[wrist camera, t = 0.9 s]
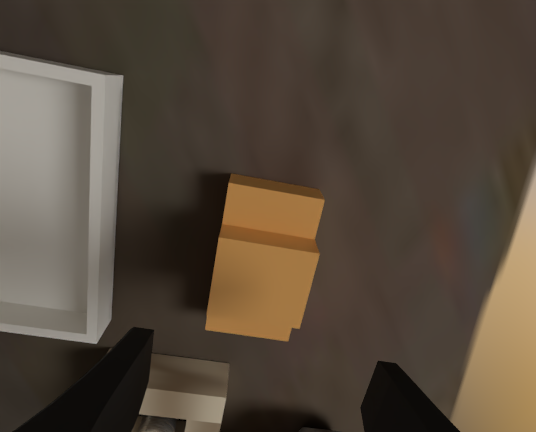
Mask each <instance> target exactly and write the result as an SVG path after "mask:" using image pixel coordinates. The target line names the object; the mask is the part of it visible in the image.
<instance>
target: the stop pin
mask: <svg viewBox="0 0 536 432" xmlns="http://www.w3.org/2000/svg"><path fill="white" fill-rule="evenodd" d="M176 423H177V419H176V418H168V417H159V416H151V415H143V417H142V419H141V422H140V425H139V428H138V431H137V432H174V431H175V427H176Z"/></svg>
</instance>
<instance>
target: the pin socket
mask: <svg viewBox="0 0 536 432" xmlns="http://www.w3.org/2000/svg"><path fill="white" fill-rule="evenodd" d="M111 349H112V348H110V349H109V350H108V352H109V351H110V350H111ZM108 352H107V353H108ZM229 365H230V363H222V362H215V361H207V360H199V359H192V358H184V357H177V356H169V355H161V354H154V353H152V355H151V365H150V375H149V382H148V386H147V389H146V392H145V396H144V399H143V402H142V406H141V409H140V412H139V414H142V415H151V416H159V417H168V418H176V419H185V420H186V421H179V420H177V423H176V427H175V431H174V432H220V427H221V422H222V417H223V412H224V407H225V402H226V395H227V385H228V375H229ZM142 417H143V416H138V417H137V420H136V422H135V425H134V427H133V429H132V432H137V431H138V428H139V425H140V422H141V419H142Z"/></svg>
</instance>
